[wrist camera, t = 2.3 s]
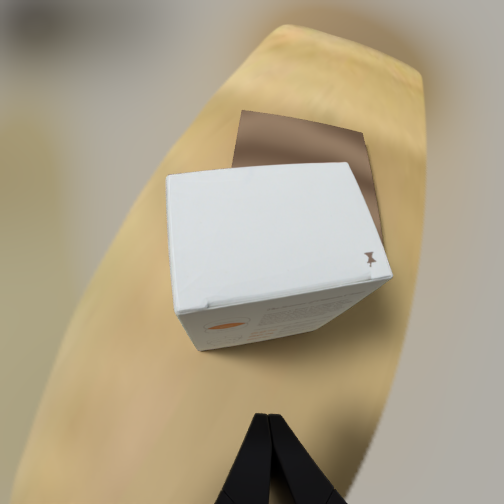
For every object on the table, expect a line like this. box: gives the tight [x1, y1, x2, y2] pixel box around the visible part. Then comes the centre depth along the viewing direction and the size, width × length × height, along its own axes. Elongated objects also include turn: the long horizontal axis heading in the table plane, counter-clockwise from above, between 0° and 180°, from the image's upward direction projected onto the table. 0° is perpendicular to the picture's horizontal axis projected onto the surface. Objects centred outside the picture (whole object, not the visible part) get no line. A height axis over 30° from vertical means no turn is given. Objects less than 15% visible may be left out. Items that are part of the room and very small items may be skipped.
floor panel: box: [232, 110, 384, 248], centre depth 24 cm, size 14×12×2 cm
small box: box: [166, 162, 393, 351], centre depth 15 cm, size 8×6×10 cm
